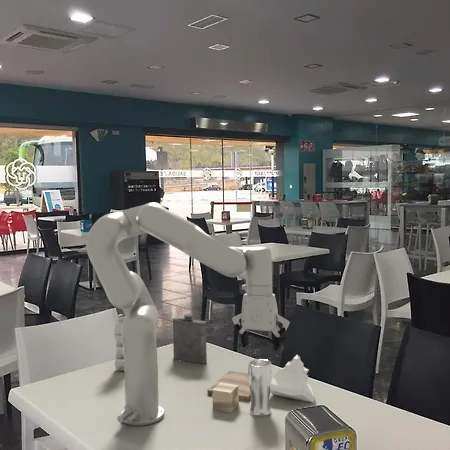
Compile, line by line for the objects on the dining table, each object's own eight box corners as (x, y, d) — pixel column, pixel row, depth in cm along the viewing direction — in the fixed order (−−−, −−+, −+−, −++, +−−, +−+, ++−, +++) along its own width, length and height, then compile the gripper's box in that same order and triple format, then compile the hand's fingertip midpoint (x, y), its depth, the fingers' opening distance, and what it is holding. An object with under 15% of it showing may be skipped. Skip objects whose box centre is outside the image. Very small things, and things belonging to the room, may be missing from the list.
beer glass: (272, 417, 148) (272, 366, 147) (248, 417, 148) (248, 366, 147) (271, 407, 155) (270, 358, 154) (248, 407, 155) (247, 358, 154)
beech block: (231, 412, 152) (230, 392, 152) (212, 409, 155) (212, 389, 154) (238, 404, 158) (238, 385, 157) (220, 401, 160) (220, 382, 160)
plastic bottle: (111, 372, 186) (109, 317, 185) (120, 365, 193) (118, 313, 191) (127, 373, 184) (125, 318, 183) (136, 367, 191) (134, 314, 189)
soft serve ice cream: (276, 391, 171) (284, 348, 172) (319, 404, 163) (327, 359, 165) (260, 395, 160) (268, 349, 162) (305, 409, 153) (314, 361, 154)
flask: (203, 365, 192) (202, 317, 191) (171, 359, 199) (169, 313, 197) (208, 362, 195) (207, 315, 194) (176, 356, 202) (175, 311, 201)
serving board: (248, 401, 160) (248, 396, 160) (207, 394, 165) (207, 389, 165) (267, 380, 176) (267, 376, 176) (229, 375, 182) (229, 370, 182)
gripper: (226, 290, 149) (228, 348, 150) (284, 294, 142) (286, 354, 143) (236, 285, 156) (238, 341, 157) (292, 288, 149) (293, 346, 150)
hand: (261, 347), depth 150 cm, fingers open, 9 cm apart
